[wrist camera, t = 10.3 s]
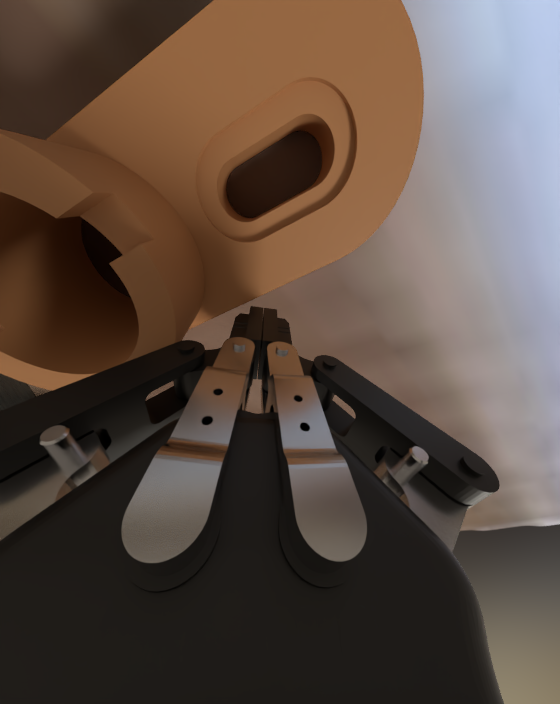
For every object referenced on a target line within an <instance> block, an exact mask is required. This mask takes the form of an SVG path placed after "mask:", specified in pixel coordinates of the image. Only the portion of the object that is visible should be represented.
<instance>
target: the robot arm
mask: <svg viewBox="0 0 560 704" xmlns="http://www.w3.org/2000/svg"><path fill="white" fill-rule="evenodd" d="M262 321H263V322H262ZM258 362H259V367H258ZM257 370H258V379H262V386H261V408H262V413H261V414H254V413H251V412H247V411H246V408H247V403H248V398H249V394H250V387H251V385H252V381H253V379H256V378H257ZM171 381H173V382H174V386H173V387H171V388H169V389H167V390H165V391H163V392H162V393H160V394H158V395H156V396H154V397H152V398H150V399H149V400H147V401H145V399H146V397H147V396H148V395H149V394H150V393H151V392H152V391H154V390H156V389H158V388H159V387H161V386H163V385H165V384H167V383H169V382H171ZM334 395H337V396H338V397H339V398H340V399H342V400H343V401H344V402H345V403H347V404H348V405H349V406H350V407H351V408H352V409H353V410H354V412H355V414H356V418H355V419H354V418H353V417H352V416H351V415H349V414H348V413H347V412H346V411H345V410H343V409H342V408H341V407H340V406H339V405H337V404H336V403H335V402H334V401H333V400H332V399H333V397H334ZM498 489H499V480H498V478H497V475H496V474H495V472H494V471H493V469H492V468H491V467H490V466H489V465H488V464H487V463H486V462H485V461H484V460H483V459H482V458H481V457H479V456H478V455H477V454H475V453H474V452H472V451H471V450H469V449H468V448H467V447H465V446H464V445H462V444H461V443H459V442H458V441H456V440H455V439H453V438H452V437H450V436H449V435H448V434H446V433H445V432H443V431H442V430H440V429H439V428H437V427H436V426H434V425H433V424H431V423H430V422H429V421H427V420H426V419H424V418H423V417H421V416H420V415H418V414H417V413H415V412H414V411H412V410H411V409H409V408H408V407H407V406H405V405H404V404H402V403H401V402H399V401H398V400H396V399H395V398H393V397H392V396H390V395H389V394H388V393H386V392H385V391H383V390H382V389H380V388H379V387H377V386H376V385H374V384H373V383H371V382H370V381H369V380H367V379H366V378H364V377H363V376H361V375H360V374H358V373H357V372H355V371H354V370H352V369H351V368H350V367H348V366H347V365H345V364H344V363H342V362H341V361H339V360H338V359H336V358H334V357H331V356H327V355H321V356H317V357H316V358H315V359H314V362H313V361H310V360H307V359H304V358H302V357H300V356H298V353H297V350H296V348H295V347H294V346H292V341H291V334H290V327H289V323H288V322H287V321H286V320H285V319H281V318H277V310H276V309H269V308H264V314H263V308H261V307H253V306H251V308H250V313H249V314H239V315H238V316H236V318H235V321H234V325H233V328H232V331H231V335H230V338H229V339H227V340H226V341H225V342H224V343H223V346H222V347H221V348H219V349H213V350H205V348H204V346H203V345H202V344H201V343H199V342H197V341H191V340H185V341H179V342H176V343H174V344H171V345H168V346H166V347H163V348H161V349H158V350H156V351H153V352H150V353H148V354H145V355H143V356H140V357H138V358H135V359H132V360H130V361H127V362H125V363H122V364H120V365H117V366H114V367H112V368H109V369H107V370H104V371H102V372H99V373H96V374H94V375H91V376H89V377H86V378H84V379H81V380H78V381H76V382H73V383H71V384H68V385H66V386H63V387H60V388H58V389H55V390H53V391H50V392H48V393H45V394H42V395H40V396H37V397H35V398H32V399H30V400H27V401H24V402H22V403H19V404H17V405H14V406H12V407H9V408H6V409H4V410H1V411H0V704H504V702H503V699H502V697H501V693H500V690H499V686H498V683H497V680H496V676H495V673H494V669H493V665H492V661H491V657H490V652H489V647H488V642H487V636H486V630H485V625H484V620H483V616H482V612H481V609H480V605H479V602H478V600H477V597H476V594H475V592H474V590H473V587H472V586H471V583H470V581H469V579H468V577H467V575H466V573H465V572H464V570H463V568H462V567H461V565H460V563H459V562H458V561H457V559H456V558H455V556H454V555H453V554H452V551H453V548H454V546H455V543H456V540H457V537H458V534H459V531H460V528H461V525H462V522H463V520H464V517H465V514H466V511H467V509H469V508H470V507H472V506H474V505H475V504H477V503H478V502H480V501H482V500H483V499H485V498H486V497H488V496H490V495H491V494H493V493H494V492H496V491H497V490H498Z"/></svg>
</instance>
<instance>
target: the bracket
mask: <svg viewBox="0 0 560 704" xmlns="http://www.w3.org/2000/svg"><path fill="white" fill-rule="evenodd" d="M423 99H424V90H423V73H422V65H421V57H420V52H419V48H418V44H417V39H416V36H415V33H414V30H413V27H412V24H411V21H410V18H409V16H408V14H407V12H406V10H405V7H404V5H403V3H402V1H401V0H213V1H212V2H211V3H210V4H209V5H207V6H206V7H205V8H204V9H203V10H201V11H200V12H199V13H198V14H197V15H195V16H194V17H193V18H192V19H191V20H189V21H188V22H187V23H186V24H185V25H183V26H182V27H181V28H180V29H179V30H177V31H176V32H175V33H174V34H173V35H171V36H170V37H169V38H168V39H166V40H165V41H164V42H163V43H162V44H160V45H159V46H158V47H157V48H156V49H154V50H153V51H152V52H151V53H150V54H148V55H147V56H146V57H145V58H144V59H142V60H141V61H140V62H139V63H138V64H136V65H135V66H134V67H133V68H132V69H130V70H129V71H128V72H127V73H126V74H124V75H123V76H122V77H121V78H120V79H118V80H117V81H116V82H115V83H113V84H112V85H111V86H110V87H109V88H107V89H106V90H105V91H104V92H103V93H101V94H100V95H99V96H98V97H97V98H95V99H94V100H93V101H92V102H91V103H89V104H88V105H87V106H86V107H85V108H83V109H82V110H81V111H80V112H79V113H77V114H76V115H75V116H74V117H73V118H71V119H70V120H69V121H68V122H67V123H65V124H64V125H63V126H62V127H60V128H59V129H58V130H57V131H56V132H54V133H53V134H52V135H51V136H50V137H48V138H47V139H46V140H42V139H38V138H34V137H30V136H26V135H23V134H19V133H15V132H11V131H7V130H3V129H0V373H1V374H3V375H5V376H8V377H11V378H13V379H16V380H18V381H21V382H24V383H27V384H30V385H33V386H37V387H40V388H44V389H48V390H52V391H53V390H55V389H58V388H60V387H63V386H66V385H68V384H71V383H73V382H76V381H78V380H81V379H84V378H86V377H89V376H91V375H94V374H96V373H99V372H102V371H104V370H107V369H109V368H112V367H114V366H117V365H120V364H122V363H125V362H127V361H130V360H132V359H135V358H138V357H140V356H143V355H145V354H148V353H150V352H153V351H156V350H158V349H161V348H163V347H166V346H168V345H171V344H174V343H176V342H179V341H182V339H183V337H184V336H185V334H186V333H187V331H188V329H191V328H193V327H195V326H197V325H199V324H201V323H203V322H206V321H208V320H210V319H212V318H214V317H216V316H218V315H221V314H223V313H225V312H227V311H229V310H231V309H233V308H236V307H238V306H240V305H242V304H244V303H246V302H248V301H251V300H253V299H255V298H257V297H259V296H261V295H263V294H266V293H268V292H270V291H272V290H274V289H276V288H278V287H280V286H283V285H285V284H287V283H289V282H291V281H293V280H295V279H298V278H300V277H302V276H304V275H306V274H308V273H310V272H313V271H315V270H317V269H319V268H321V267H323V266H325V265H328V264H330V263H332V262H334V261H336V260H338V259H340V258H342V257H344V256H346V255H347V254H349V253H350V252H352V251H354V250H355V249H356V248H358V247H359V246H360V245H361V244H363V243H364V242H365V241H366V240H367V239H368V238H369V237H370V236H371V235H372V234H373V233H374V232H375V231H376V230H377V229H378V228H379V226H380V225H381V224H382V223H383V221H384V220H385V219H386V217H387V216H388V215H389V213H390V212H391V210H392V208H393V207H394V205H395V204H396V202H397V200H398V198H399V196H400V194H401V192H402V190H403V188H404V186H405V184H406V181H407V179H408V177H409V174H410V171H411V168H412V165H413V162H414V159H415V155H416V151H417V148H418V143H419V138H420V132H421V125H422V117H423ZM295 131H306V132H308V133H310V134H312V135H313V136H314V137H315V138H316V140H317V141H318V143H319V145H320V148H321V152H322V167H321V171H320V174H319V176H318V178H317V180H316V181H315V183H314V184H313V185H312V186H311V187H309V188H308V189H306V190H304V191H302V192H301V193H299V194H297V195H295V196H293V197H292V198H290V199H288V200H286V201H284V202H283V203H281V204H279V205H277V206H275V207H274V208H272V209H270V210H268V211H266V212H265V213H263V214H261V215H259V216H257V217H254V218H245V217H242V216H240V215H239V214H237V213H236V212H235V211H234V210H233V208H232V207H231V205H230V203H229V201H228V198H227V193H226V185H227V180H228V177H229V175H230V173H231V172H232V171H233V170H234V169H235V168H236V167H238V166H239V165H241V164H242V163H244V162H246V161H247V160H249V159H250V158H252V157H254V156H255V155H257V154H258V153H260V152H262V151H263V150H265V149H266V148H268V147H270V146H271V145H273V144H274V143H276V142H278V141H279V140H281V139H282V138H284V137H286V136H287V135H289V134H290V133H292V132H295ZM82 218H83V219H84V220H86V221H87V222H88V223H90V224H91V225H93V226H94V227H95V228H96V229H97V230H98V231H100V232H101V233H102V234H103V235H104V236H105V237H106V238H107V239H108V240H109V241H110V242H112V243H113V244H114V246H115V247H116V248H117V249H118V250H119V251H120V252H121V253H122V256H121V257H119V258H117V259H116V260H114V261H112V262H111V263H109V264H110V265H111V267H112V268H113V269H114V270H115V272H116V273H117V275H118V276H119V278H120V279H121V280H122V282H123V284H124V285H125V287H126V289H127V290H128V292H129V294H130V296H131V298H129V297H127V296H125V295H123V294H122V293H120V292H119V291H117V290H116V289H114V288H113V287H112V286H111V285H110V284H108V283H107V282H106V281H105V280H104V279H103V278H102V276H101V275H100V274H99V273H98V272H97V270H96V269H95V268H94V266H93V264H92V263H91V261H90V259H89V257H88V255H87V253H86V251H85V248H84V245H83V240H82V234H81V224H82Z"/></svg>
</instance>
